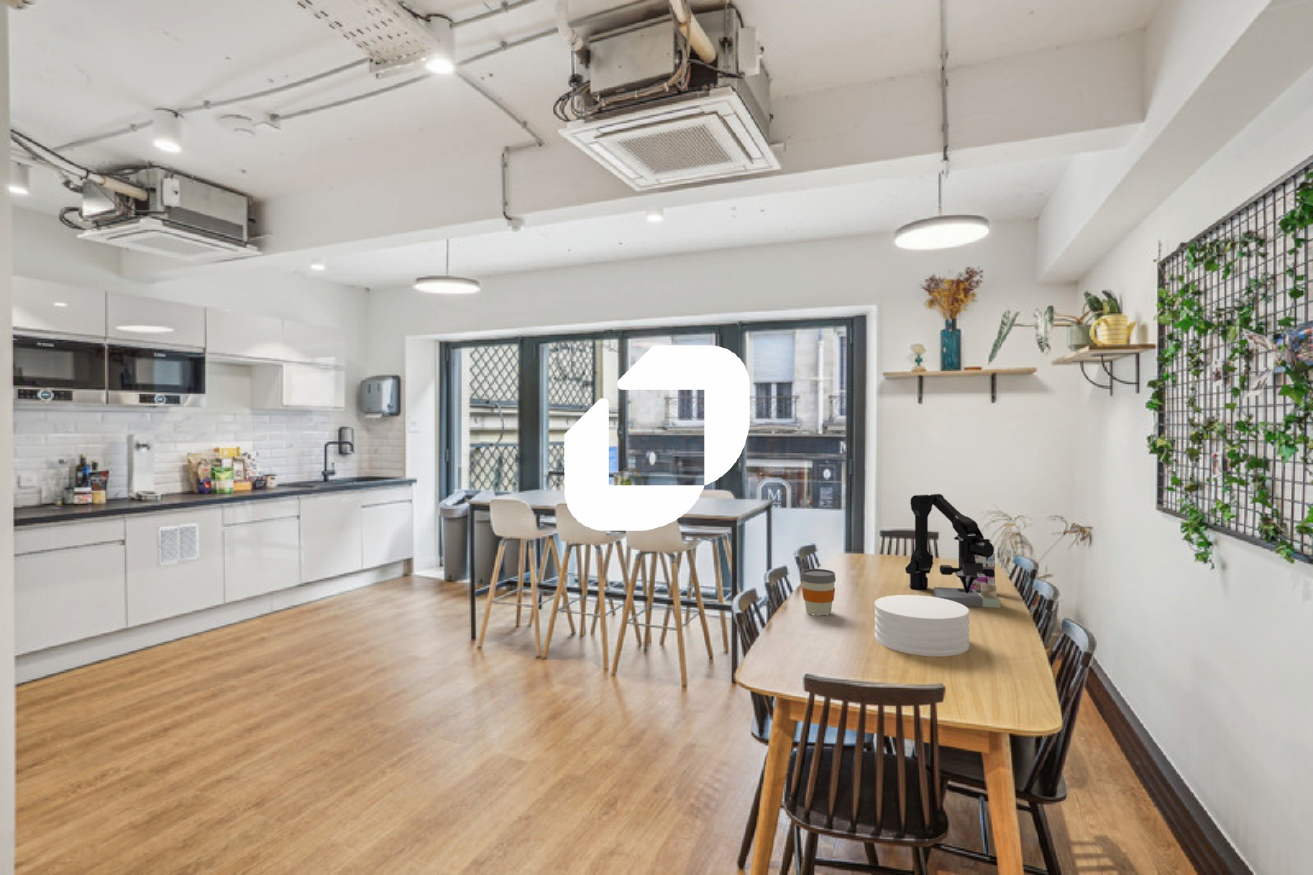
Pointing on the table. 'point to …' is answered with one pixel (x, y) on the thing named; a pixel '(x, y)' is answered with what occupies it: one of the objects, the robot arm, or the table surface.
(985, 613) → the table surface
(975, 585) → the candy bar box
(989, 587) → the maple block
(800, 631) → the table surface
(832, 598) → the reusable coffee cup
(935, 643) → the plate stack
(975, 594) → the trap deck
